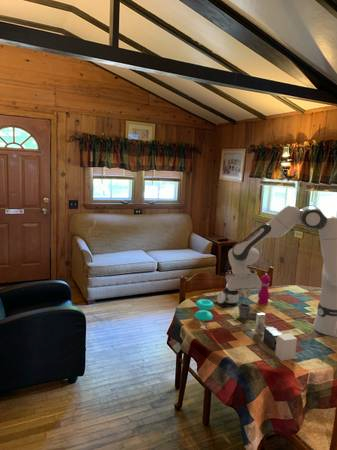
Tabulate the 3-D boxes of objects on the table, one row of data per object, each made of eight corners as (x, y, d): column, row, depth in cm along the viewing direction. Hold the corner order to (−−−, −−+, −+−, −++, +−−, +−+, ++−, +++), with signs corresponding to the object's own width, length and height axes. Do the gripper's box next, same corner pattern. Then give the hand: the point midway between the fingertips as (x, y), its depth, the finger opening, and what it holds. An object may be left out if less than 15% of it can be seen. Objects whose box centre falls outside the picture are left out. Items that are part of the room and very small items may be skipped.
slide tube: (261, 330, 181) (263, 312, 179) (282, 348, 164) (284, 329, 163) (254, 331, 180) (256, 313, 178) (274, 349, 163) (277, 329, 161)
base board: (266, 331, 185) (266, 329, 185) (299, 359, 159) (299, 357, 159) (244, 333, 181) (244, 331, 181) (275, 363, 155) (275, 361, 155)
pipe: (259, 322, 195) (260, 309, 193) (236, 319, 197) (237, 306, 196) (258, 318, 201) (260, 305, 199) (236, 315, 203) (238, 302, 202)
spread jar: (239, 303, 221) (241, 286, 218) (230, 308, 212) (232, 290, 210) (223, 297, 228) (225, 281, 226) (214, 302, 220) (215, 284, 218)
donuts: (199, 306, 188) (193, 298, 198) (198, 322, 190) (192, 314, 200) (216, 305, 191) (210, 298, 200) (215, 321, 193) (208, 314, 202)
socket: (287, 352, 163) (290, 333, 161) (294, 358, 158) (297, 338, 156) (275, 354, 161) (277, 334, 159) (281, 360, 156) (284, 340, 154)
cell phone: (204, 322, 192) (204, 320, 192) (236, 329, 186) (236, 327, 186) (199, 329, 184) (200, 327, 184) (233, 336, 178) (233, 335, 178)
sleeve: (271, 340, 173) (273, 326, 172) (281, 349, 166) (283, 334, 164) (263, 341, 172) (264, 327, 170) (272, 350, 164) (274, 335, 163)
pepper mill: (266, 305, 219) (270, 275, 215) (255, 302, 223) (259, 273, 219) (270, 302, 225) (273, 273, 221) (259, 299, 229) (262, 270, 225)
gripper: (226, 272, 192) (233, 295, 185) (258, 270, 198) (266, 293, 191) (222, 277, 197) (228, 300, 190) (253, 275, 203) (261, 297, 196)
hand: (248, 296), depth 190 cm, fingers closed
